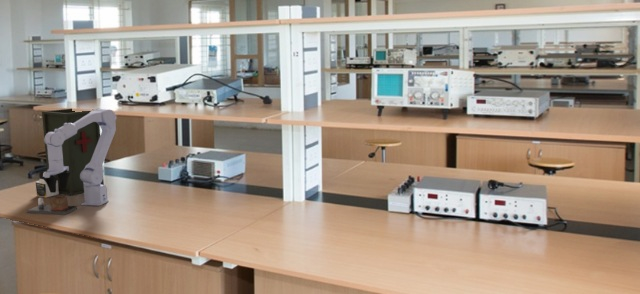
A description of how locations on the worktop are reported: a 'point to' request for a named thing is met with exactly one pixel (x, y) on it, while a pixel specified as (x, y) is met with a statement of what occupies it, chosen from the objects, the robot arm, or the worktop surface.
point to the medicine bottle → (44, 187)
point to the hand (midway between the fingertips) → (58, 190)
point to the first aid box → (73, 146)
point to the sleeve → (59, 203)
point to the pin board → (49, 209)
